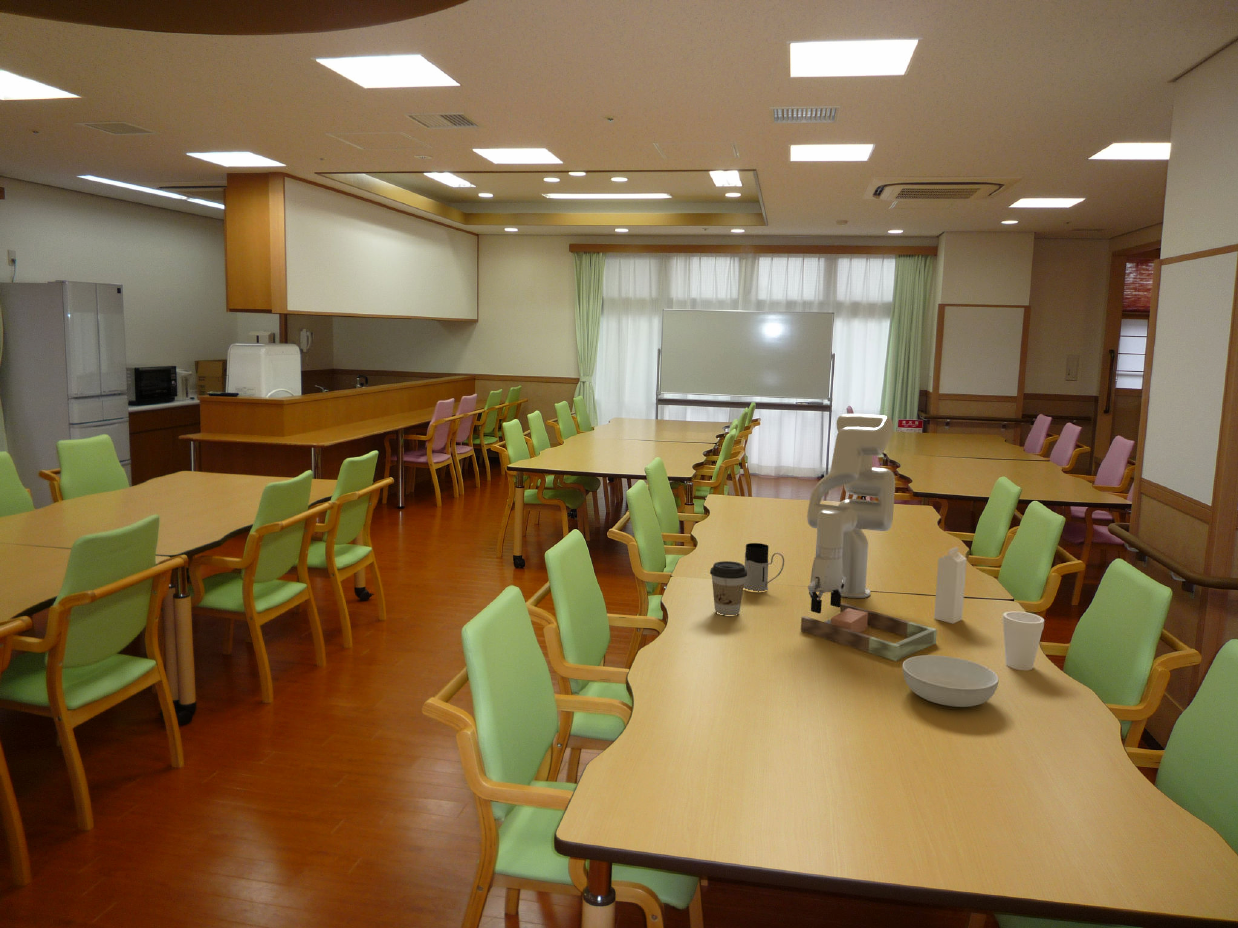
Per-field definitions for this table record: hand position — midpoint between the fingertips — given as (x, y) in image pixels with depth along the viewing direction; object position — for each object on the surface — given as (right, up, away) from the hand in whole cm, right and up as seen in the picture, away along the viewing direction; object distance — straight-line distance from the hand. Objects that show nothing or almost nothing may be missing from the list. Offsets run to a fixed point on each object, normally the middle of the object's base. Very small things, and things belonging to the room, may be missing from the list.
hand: (825, 609), depth 242 cm
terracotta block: (+5, -6, -5) cm, 9 cm away
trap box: (+9, -6, -9) cm, 15 cm away
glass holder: (-13, 0, +33) cm, 36 cm away
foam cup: (+43, -10, -29) cm, 53 cm away
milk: (+39, -5, +7) cm, 40 cm away
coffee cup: (-28, -3, +10) cm, 29 cm away
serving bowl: (+16, -12, -50) cm, 54 cm away
